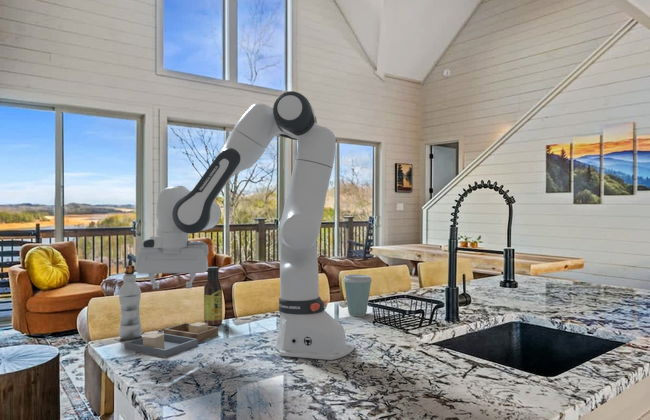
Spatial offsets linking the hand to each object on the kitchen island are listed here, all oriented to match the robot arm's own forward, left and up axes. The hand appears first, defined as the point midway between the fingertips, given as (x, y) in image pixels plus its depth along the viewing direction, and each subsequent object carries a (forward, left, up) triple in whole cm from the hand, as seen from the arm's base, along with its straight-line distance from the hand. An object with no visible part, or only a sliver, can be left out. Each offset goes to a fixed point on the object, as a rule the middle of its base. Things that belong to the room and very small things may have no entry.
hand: (172, 288), depth 135 cm
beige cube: (0, +7, -16) cm, 18 cm away
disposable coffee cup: (-33, -59, -17) cm, 70 cm away
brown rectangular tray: (+1, -9, -17) cm, 19 cm away
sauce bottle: (+7, -25, -17) cm, 31 cm away
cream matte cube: (-2, -9, -16) cm, 18 cm away
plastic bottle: (+17, +1, -17) cm, 24 cm away
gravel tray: (0, +4, -17) cm, 17 cm away
